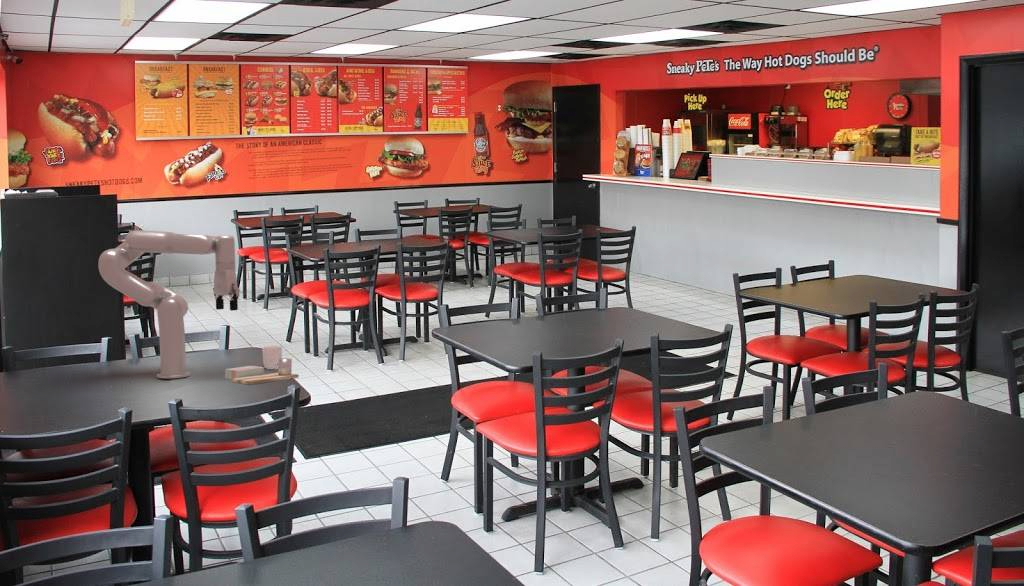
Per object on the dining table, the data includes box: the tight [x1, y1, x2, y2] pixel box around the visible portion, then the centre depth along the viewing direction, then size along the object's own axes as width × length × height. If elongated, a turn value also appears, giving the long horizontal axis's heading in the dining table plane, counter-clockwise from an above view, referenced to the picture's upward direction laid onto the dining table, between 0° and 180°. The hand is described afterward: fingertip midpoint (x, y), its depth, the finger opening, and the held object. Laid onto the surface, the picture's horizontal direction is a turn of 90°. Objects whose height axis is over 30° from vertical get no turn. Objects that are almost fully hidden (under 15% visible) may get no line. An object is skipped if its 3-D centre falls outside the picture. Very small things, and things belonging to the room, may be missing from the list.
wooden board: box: [231, 372, 299, 386], centre depth 377 cm, size 12×22×1 cm, turn 139°
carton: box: [224, 365, 265, 381], centre depth 383 cm, size 8×12×4 cm
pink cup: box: [261, 345, 283, 370], centre depth 401 cm, size 8×8×10 cm
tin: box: [277, 357, 293, 375], centre depth 381 cm, size 5×5×6 cm
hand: (226, 309), depth 388 cm, fingers open, 9 cm apart
